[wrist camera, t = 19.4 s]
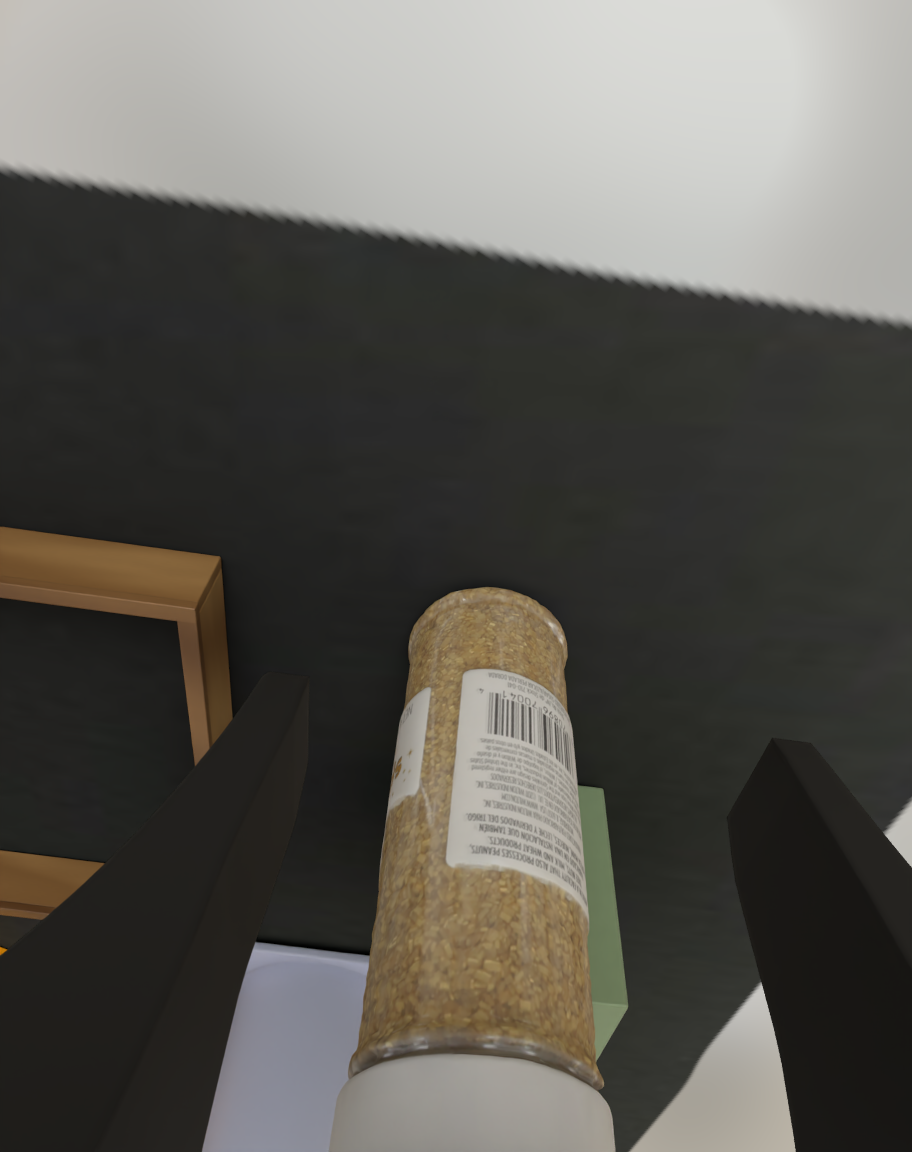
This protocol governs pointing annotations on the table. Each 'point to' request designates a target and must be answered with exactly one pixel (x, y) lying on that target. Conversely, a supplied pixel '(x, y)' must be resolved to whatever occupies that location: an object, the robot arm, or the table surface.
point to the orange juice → (2, 950)
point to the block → (601, 919)
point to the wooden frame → (126, 587)
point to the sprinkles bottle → (480, 904)
